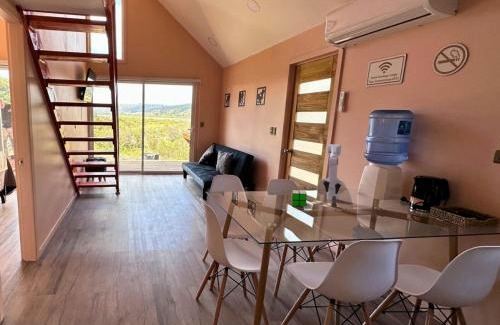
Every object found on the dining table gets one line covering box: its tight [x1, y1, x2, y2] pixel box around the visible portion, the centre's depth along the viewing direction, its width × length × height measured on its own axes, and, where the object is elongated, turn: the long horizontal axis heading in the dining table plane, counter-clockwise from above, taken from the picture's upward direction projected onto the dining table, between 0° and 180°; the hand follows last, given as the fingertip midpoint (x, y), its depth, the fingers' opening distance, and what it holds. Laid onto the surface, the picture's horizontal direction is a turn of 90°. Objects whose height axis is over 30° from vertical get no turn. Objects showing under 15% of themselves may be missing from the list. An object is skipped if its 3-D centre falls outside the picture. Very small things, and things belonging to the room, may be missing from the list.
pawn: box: [330, 196, 338, 208], centre depth 212 cm, size 4×4×8 cm
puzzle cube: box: [291, 189, 307, 208], centre depth 218 cm, size 10×10×10 cm
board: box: [309, 200, 348, 212], centre depth 216 cm, size 10×25×1 cm, turn 43°
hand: (331, 192), depth 214 cm, fingers open, 7 cm apart
